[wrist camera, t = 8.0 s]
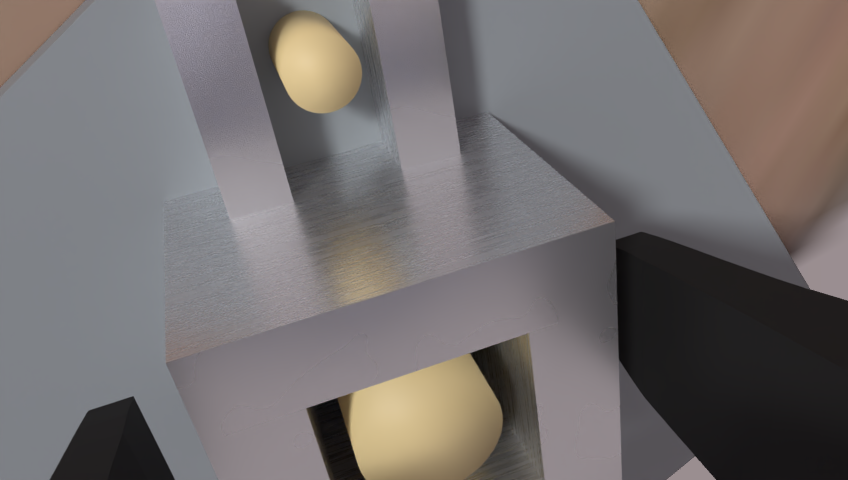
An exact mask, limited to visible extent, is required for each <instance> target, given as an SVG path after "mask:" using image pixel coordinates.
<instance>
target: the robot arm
mask: <svg viewBox="0 0 848 480" xmlns="http://www.w3.org/2000/svg"><path fill="white" fill-rule="evenodd" d="M615 241H616V278H617V316H618V353H619V360H620V362H621V364H622V365H623V367H624V368H625V370H626V371H627V373H628V374H629V376H630V377H631V379H632V380H633V382H634V383H635V385H636V386H637V388H638V389H639V390H640V392H641V393H642V395H643V396H644V397H645V399H646V400H647V401H648V402H649V403H650V405H651V406H652V407H653V408H654V409H655V410H656V412H657V413H658V414H659V415H660V416H661V417H662V419H663V420H664V421H665V422H666V423H667V424H668V425H669V427H670V428H671V429H672V430H673V431H674V432H675V434H676V435H677V436H678V437H679V438H680V439H681V440H682V442H683V443H684V444H685V445H686V446H687V447H688V448H689V449H690V451H691V452H692V453H693V454H694V455H695V456H696V457H697V458H698V460H699V461H701V463H702V464H703V465H704V466H705V468H706V469H707V470H708V471H709V472H710V473H711V474H712V475H713V477H714V478H715V479H716V480H848V301H847V300H844V299H840V298H837V297H833V296H830V295H827V294H824V293H820V292H817V291H813V290H810V289H807V288H804V287H801V286H798V285H795V284H792V283H788V282H785V281H782V280H779V279H776V278H774V277H771V276H768V275H765V274H762V273H759V272H756V271H753V270H750V269H748V268H745V267H742V266H739V265H736V264H734V263H731V262H728V261H725V260H723V259H720V258H717V257H714V256H712V255H709V254H706V253H703V252H701V251H698V250H695V249H692V248H690V247H687V246H684V245H681V244H678V243H676V242H673V241H670V240H667V239H664V238H661V237H658V236H655V235H651V234H648V233H645V232H638V233H635V234H632V235H629V236H626V237H623V238H620V239H617V240H615ZM50 480H175V478H174V476H173V474H172V472H171V470H170V468H169V466H168V464H167V462H166V460H165V458H164V456H163V454H162V452H161V450H160V448H159V446H158V444H157V442H156V440H155V438H154V436H153V434H152V432H151V430H150V428H149V426H148V424H147V422H146V420H145V418H144V416H143V414H142V412H141V410H140V408H139V406H138V404H137V402H136V400H135V398H134V396H132V397H129V398H126V399H123V400H119V401H116V402H113V403H110V404H107V405H104V406H101V407H98V408H95V409H92V410H89V411H88V412H87V413H86V415H85V417H84V418H83V420H82V422H81V424H80V425H79V427H78V429H77V431H76V432H75V434H74V436H73V438H72V440H71V441H70V443H69V445H68V447H67V449H66V451H65V452H64V454H63V456H62V458H61V460H60V462H59V463H58V465H57V467H56V469H55V471H54V472H53V474H52V476H51V478H50Z"/></svg>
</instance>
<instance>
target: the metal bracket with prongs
mask: <svg viewBox="0 0 848 480" xmlns="http://www.w3.org/2000/svg"><path fill="white" fill-rule="evenodd" d="M154 1H155V3H156V6H157V9H158V12H159V15H160V18H161V21H162V24H163V27H164V30H165V32H166V35H167V38H168V41H169V44H170V47H171V50H172V53H173V56H174V59H175V61H176V64H177V67H178V70H179V73H180V76H181V79H182V82H183V85H184V88H185V91H186V93H187V96H188V99H189V102H190V105H191V108H192V111H193V114H194V117H195V120H196V122H197V125H198V128H199V131H200V134H201V137H202V140H203V143H204V146H205V149H206V151H207V154H208V157H209V160H210V163H211V166H212V169H213V172H214V175H215V178H216V180H217V183H218V187H214V188H211V189H207V190H203V191H200V192H196V193H192V194H189V195H185V196H182V197H178V198H174V199H171V200H167V201H164V256H165V350H166V365H167V367H168V369H169V371H170V374H171V376H172V378H173V380H174V383H175V385H176V387H177V389H178V391H179V394H180V396H181V398H182V400H183V402H184V405H185V407H186V409H187V411H188V414H189V416H190V418H191V420H192V422H193V425H194V427H195V429H196V431H197V434H198V436H199V438H200V440H201V442H202V445H203V447H204V449H205V451H206V453H207V456H208V458H209V460H210V462H211V465H212V467H213V469H214V471H215V473H216V476H217V478H218V480H366V479H365V478H364V476H363V475H362V473H361V471H360V469H359V466H358V463H357V460H356V457H355V454H354V451H353V447H352V444H351V441H350V438H349V435H348V431H347V428H346V425H345V422H344V419H343V415H342V412H341V409H340V406H339V403H338V399H337V398H338V397H341V396H344V395H347V394H350V393H353V392H356V391H359V390H362V389H365V388H368V387H371V386H374V385H377V384H380V383H383V382H386V381H389V380H391V379H394V378H397V377H400V376H403V375H406V374H409V373H412V372H415V371H418V370H421V369H424V368H427V367H430V366H433V365H436V364H439V363H442V362H445V361H448V360H451V359H454V358H457V357H460V356H463V355H465V354H468V353H470V354H471V356H472V357H473V359H474V361H475V363H476V364H477V366H478V368H479V369H480V371H481V373H482V374H483V376H484V378H485V379H486V381H487V383H488V384H489V386H490V388H491V389H492V391H493V393H494V394H495V396H496V398H497V400H498V401H499V404H500V406H501V410H502V414H503V425H502V431H501V435H500V438H499V440H498V443H497V445H496V446H495V448H494V450H493V452H492V453H491V454H490V456H489V457H488V459H487V460H486V461H485V462H484V463H483V464H482V465H481V466H480V467H479V468H478V469H477V470H476V471H475V472H473V473H472V474H471V475H470V476H468V477H467V478H465V479H464V480H622V465H621V428H620V390H619V353H618V316H617V278H616V241H615V221H614V220H613V219H612V218H611V217H610V216H608V215H607V214H606V213H605V212H604V211H603V210H601V209H600V208H599V207H598V206H597V205H596V204H594V203H593V202H592V201H591V200H590V199H588V198H587V197H586V196H585V195H584V194H583V193H581V192H580V191H579V190H578V189H577V188H576V187H574V186H573V185H572V184H571V183H570V182H569V181H567V180H566V179H565V178H564V177H563V176H562V175H560V174H559V173H558V172H557V171H556V170H555V169H553V168H552V167H551V166H550V165H549V164H548V163H546V162H545V161H544V160H543V159H542V158H541V157H539V156H538V155H537V154H536V153H535V152H534V151H532V150H531V149H530V148H529V147H528V146H527V145H525V144H524V143H523V142H522V141H521V140H520V139H518V138H517V137H516V136H515V135H514V134H513V133H511V132H510V131H509V130H508V129H507V128H506V127H504V126H503V125H502V124H501V123H500V122H499V121H497V120H496V119H495V118H494V117H493V116H492V115H490V114H489V113H488V112H485V113H482V114H478V115H475V116H471V117H467V118H464V119H460V120H456V118H455V111H454V105H453V98H452V91H451V84H450V77H449V70H448V64H447V57H446V50H445V43H444V36H443V29H442V23H441V16H440V9H439V2H438V0H352V2H353V7H354V12H355V16H356V21H357V26H358V31H359V36H360V41H361V45H362V50H363V55H364V60H365V65H366V70H367V75H368V79H369V84H370V89H371V94H372V99H373V104H374V108H375V113H376V118H377V123H378V128H379V133H380V138H381V142H377V143H373V144H370V145H366V146H362V147H359V148H355V149H352V150H348V151H344V152H341V153H337V154H334V155H330V156H326V157H323V158H319V159H315V160H312V161H308V162H305V163H301V164H297V165H294V166H290V167H287V168H284V166H283V163H282V159H281V156H280V152H279V149H278V145H277V142H276V138H275V135H274V131H273V128H272V124H271V121H270V117H269V114H268V110H267V107H266V103H265V100H264V96H263V93H262V90H261V86H260V83H259V79H258V76H257V72H256V69H255V65H254V62H253V58H252V55H251V51H250V48H249V44H248V41H247V37H246V34H245V30H244V27H243V24H242V20H241V17H240V13H239V10H238V6H237V3H236V0H154Z"/></svg>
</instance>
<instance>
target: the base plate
mask: <svg viewBox="0 0 848 480" xmlns="http://www.w3.org/2000/svg"><path fill="white" fill-rule="evenodd" d="M438 2H439V9H440V16H441V23H442V29H443V36H444V43H445V50H446V57H447V64H448V70H449V77H450V84H451V91H452V98H453V105H454V111H455V118H456V120H460V119H464V118H467V117H471V116H475V115H478V114H482V113H485V112H488V113H489V114H490V115H492V116H493V117H494V118H495V119H496V120H497V121H499V122H500V123H501V124H502V125H503V126H504V127H506V128H507V129H508V130H509V131H510V132H511V133H513V134H514V135H515V136H516V137H517V138H518V139H520V140H521V141H522V142H523V143H524V144H525V145H527V146H528V147H529V148H530V149H531V150H532V151H534V152H535V153H536V154H537V155H538V156H539V157H541V158H542V159H543V160H544V161H545V162H546V163H548V164H549V165H550V166H551V167H552V168H553V169H555V170H556V171H557V172H558V173H559V174H560V175H562V176H563V177H564V178H565V179H566V180H567V181H569V182H570V183H571V184H572V185H573V186H574V187H576V188H577V189H578V190H579V191H580V192H581V193H583V194H584V195H585V196H586V197H587V198H588V199H590V200H591V201H592V202H593V203H594V204H596V205H597V206H598V207H599V208H600V209H601V210H603V211H604V212H605V213H606V214H607V215H608V216H610V217H611V218H612V219H613V220H614V221H615V240H617V239H620V238H623V237H626V236H629V235H632V234H635V233H638V232H645V233H648V234H651V235H655V236H658V237H661V238H664V239H667V240H670V241H673V242H676V243H678V244H681V245H684V246H687V247H690V248H692V249H695V250H698V251H701V252H703V253H706V254H709V255H712V256H714V257H717V258H720V259H723V260H725V261H728V262H731V263H734V264H736V265H739V266H742V267H745V268H748V269H750V270H753V271H756V272H759V273H762V274H765V275H768V276H771V277H774V278H776V279H779V280H782V281H785V282H788V283H792V284H795V285H798V286H801V287H804V288H807V289H810V288H809V287H808V285H807V283H806V281H805V280H804V278H803V276H802V275H801V273H800V271H799V270H798V268H797V266H796V265H795V263H794V261H793V260H792V258H791V256H790V255H789V253H788V251H787V250H786V248H785V246H784V245H783V243H782V241H781V240H780V238H779V236H778V235H777V233H776V231H775V230H774V228H773V226H772V224H771V223H770V221H769V219H768V218H767V216H766V214H765V213H764V211H763V209H762V208H761V206H760V204H759V203H758V201H757V199H756V198H755V196H754V194H753V193H752V191H751V189H750V188H749V186H748V184H747V183H746V181H745V179H744V178H743V176H742V174H741V173H740V171H739V169H738V168H737V166H736V164H735V162H734V161H733V159H732V157H731V156H730V154H729V152H728V151H727V149H726V147H725V146H724V144H723V142H722V141H721V139H720V137H719V136H718V134H717V132H716V131H715V129H714V127H713V126H712V124H711V122H710V121H709V119H708V117H707V116H706V114H705V112H704V111H703V109H702V107H701V106H700V104H699V102H698V100H697V99H696V97H695V95H694V94H693V92H692V90H691V89H690V87H689V85H688V84H687V82H686V80H685V79H684V77H683V75H682V74H681V72H680V70H679V69H678V67H677V65H676V64H675V62H674V60H673V59H672V57H671V55H670V54H669V52H668V50H667V49H666V47H665V45H664V43H663V42H662V40H661V38H660V37H659V35H658V33H657V32H656V30H655V28H654V27H653V25H652V23H651V22H650V20H649V18H648V17H647V15H646V13H645V12H644V10H643V8H642V7H641V5H640V3H639V2H638V0H438ZM236 3H237V6H238V10H239V13H240V17H241V20H242V24H243V27H244V30H245V34H246V37H247V41H248V44H249V48H250V51H251V55H252V58H253V62H254V65H255V69H256V72H257V76H258V79H259V83H260V86H261V90H262V93H263V96H264V100H265V103H266V107H267V110H268V114H269V117H270V121H271V124H272V128H273V131H274V135H275V138H276V142H277V145H278V149H279V152H280V156H281V159H282V163H283V166H284V168H287V167H290V166H294V165H297V164H301V163H305V162H308V161H312V160H315V159H319V158H323V157H326V156H330V155H334V154H337V153H341V152H344V151H348V150H352V149H355V148H359V147H362V146H366V145H370V144H373V143H377V142H381V138H380V133H379V128H378V123H377V118H376V113H375V108H374V104H373V99H372V94H371V89H370V84H369V79H368V75H367V70H366V65H365V60H364V55H363V50H362V45H361V41H360V36H359V31H358V26H357V21H356V16H355V12H354V7H353V2H352V0H236ZM214 187H218V183H217V180H216V178H215V175H214V172H213V169H212V166H211V163H210V160H209V157H208V154H207V151H206V149H205V146H204V143H203V140H202V137H201V134H200V131H199V128H198V125H197V122H196V120H195V117H194V114H193V111H192V108H191V105H190V102H189V99H188V96H187V93H186V91H185V88H184V85H183V82H182V79H181V76H180V73H179V70H178V67H177V64H176V61H175V59H174V56H173V53H172V50H171V47H170V44H169V41H168V38H167V35H166V32H165V30H164V27H163V24H162V21H161V18H160V15H159V12H158V9H157V6H156V3H155V1H154V0H85V2H84V3H83V4H82V5H81V6H80V7H79V8H78V9H77V10H76V11H75V12H74V13H73V14H72V15H71V16H70V17H69V18H68V19H67V20H66V21H65V22H64V23H63V24H62V25H61V26H60V27H59V28H58V29H57V30H56V31H55V32H54V33H53V34H52V35H51V36H50V37H49V38H48V39H47V40H46V42H45V43H44V44H43V45H42V46H41V47H40V48H39V49H38V50H37V51H36V52H35V53H34V54H33V55H32V56H31V57H30V58H29V59H28V60H27V61H26V62H25V63H24V64H23V65H22V66H21V67H20V68H19V69H18V70H17V71H16V72H15V73H14V74H13V75H12V76H11V77H10V78H9V79H8V80H7V81H6V83H5V84H4V85H3V86H2V87H1V88H0V480H50V478H51V476H52V474H53V472H54V471H55V469H56V467H57V465H58V463H59V462H60V460H61V458H62V456H63V454H64V452H65V451H66V449H67V447H68V445H69V443H70V441H71V440H72V438H73V436H74V434H75V432H76V431H77V429H78V427H79V425H80V424H81V422H82V420H83V418H84V417H85V415H86V413H87V412H88V411H89V410H92V409H95V408H98V407H101V406H104V405H107V404H110V403H113V402H116V401H119V400H123V399H126V398H129V397H132V396H134V398H135V400H136V402H137V404H138V406H139V408H140V410H141V412H142V414H143V416H144V418H145V420H146V422H147V424H148V426H149V428H150V430H151V432H152V434H153V436H154V438H155V440H156V442H157V444H158V446H159V448H160V450H161V452H162V454H163V456H164V458H165V460H166V462H167V464H168V466H169V468H170V470H171V472H172V474H173V476H174V478H175V480H218V478H217V476H216V473H215V471H214V469H213V467H212V465H211V462H210V460H209V458H208V456H207V453H206V451H205V449H204V447H203V445H202V442H201V440H200V438H199V436H198V434H197V431H196V429H195V427H194V425H193V422H192V420H191V418H190V416H189V414H188V411H187V409H186V407H185V405H184V402H183V400H182V398H181V396H180V394H179V391H178V389H177V387H176V385H175V383H174V380H173V378H172V376H171V374H170V371H169V369H168V367H167V365H166V350H165V256H164V201H167V200H171V199H174V198H178V197H182V196H185V195H189V194H192V193H196V192H200V191H203V190H207V189H211V188H214ZM619 390H620V428H621V465H622V480H666V479H668V478H669V477H670V476H671V475H673V474H674V473H675V472H676V471H677V470H679V469H680V468H681V467H682V466H684V465H685V464H686V463H687V462H688V461H690V460H691V459H692V458H693V457H694V456H695V455H694V454H693V453H692V452H691V451H690V449H689V448H688V447H687V446H686V445H685V444H684V443H683V442H682V440H681V439H680V438H679V437H678V436H677V435H676V434H675V432H674V431H673V430H672V429H671V428H670V427H669V425H668V424H667V423H666V422H665V421H664V420H663V419H662V417H661V416H660V415H659V414H658V413H657V412H656V410H655V409H654V408H653V407H652V406H651V405H650V403H649V402H648V401H647V400H646V399H645V397H644V396H643V395H642V393H641V392H640V390H639V389H638V388H637V386H636V385H635V383H634V382H633V380H632V379H631V377H630V376H629V374H628V373H627V371H626V370H625V368H624V367H623V365H622V364H621V362H620V360H619ZM337 399H338V403H339V406H340V409H341V412H342V415H343V419H344V422H345V425H346V428H347V431H348V435H349V438H350V441H351V444H352V447H353V451H354V454H355V457H356V460H357V463H358V466H359V469H360V471H361V473H362V475H363V476H364V478H365V479H366V480H464V479H465V478H467V477H468V476H470V475H471V474H472V473H473V472H475V471H476V470H477V469H478V468H479V467H480V466H481V465H482V464H483V463H484V462H485V461H486V460H487V459H488V457H489V456H490V454H491V453H492V452H493V450H494V448H495V446H496V445H497V443H498V440H499V438H500V435H501V431H502V425H503V414H502V410H501V406H500V404H499V401H498V400H497V398H496V396H495V394H494V393H493V391H492V389H491V388H490V386H489V384H488V383H487V381H486V379H485V378H484V376H483V374H482V373H481V371H480V369H479V368H478V366H477V364H476V363H475V361H474V359H473V357H472V356H471V354H470V353H468V354H465V355H463V356H460V357H457V358H454V359H451V360H448V361H445V362H442V363H439V364H436V365H433V366H430V367H427V368H424V369H421V370H418V371H415V372H412V373H409V374H406V375H403V376H400V377H397V378H394V379H391V380H389V381H386V382H383V383H380V384H377V385H374V386H371V387H368V388H365V389H362V390H359V391H356V392H353V393H350V394H347V395H344V396H341V397H338V398H337Z"/></svg>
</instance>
